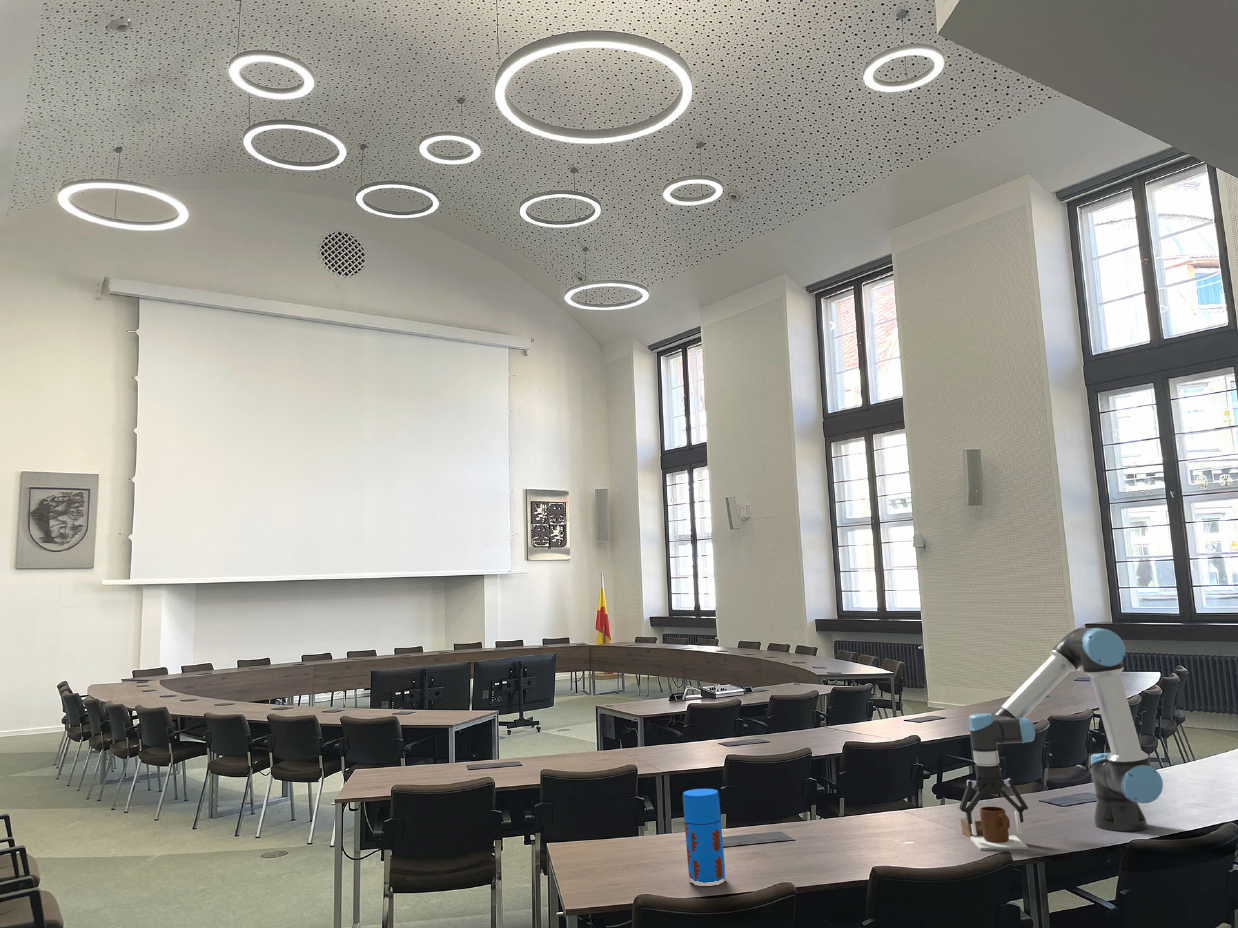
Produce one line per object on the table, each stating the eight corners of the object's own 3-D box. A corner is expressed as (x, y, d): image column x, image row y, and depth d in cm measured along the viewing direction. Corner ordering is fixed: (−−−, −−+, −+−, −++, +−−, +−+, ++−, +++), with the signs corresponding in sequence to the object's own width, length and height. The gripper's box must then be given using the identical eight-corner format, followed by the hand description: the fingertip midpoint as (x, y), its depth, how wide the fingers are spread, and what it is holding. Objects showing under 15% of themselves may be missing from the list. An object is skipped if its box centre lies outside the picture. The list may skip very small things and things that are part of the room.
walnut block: (976, 833, 280) (974, 817, 281) (984, 836, 275) (982, 820, 276) (962, 834, 279) (960, 818, 280) (970, 838, 274) (967, 821, 275)
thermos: (723, 874, 253) (715, 787, 258) (728, 885, 243) (721, 794, 247) (687, 877, 253) (680, 790, 257) (691, 888, 242) (684, 797, 247)
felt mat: (1015, 837, 271) (1015, 835, 271) (1028, 849, 258) (1028, 846, 258) (970, 838, 273) (969, 836, 274) (980, 850, 260) (980, 847, 260)
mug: (1023, 844, 260) (1018, 812, 262) (1000, 847, 259) (996, 815, 261) (1000, 835, 272) (996, 805, 274) (978, 838, 271) (974, 807, 273)
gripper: (1024, 760, 272) (1034, 829, 268) (944, 763, 276) (953, 831, 272) (1031, 764, 265) (1042, 835, 261) (949, 767, 268) (958, 837, 264)
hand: (997, 833), depth 266 cm, fingers open, 13 cm apart
